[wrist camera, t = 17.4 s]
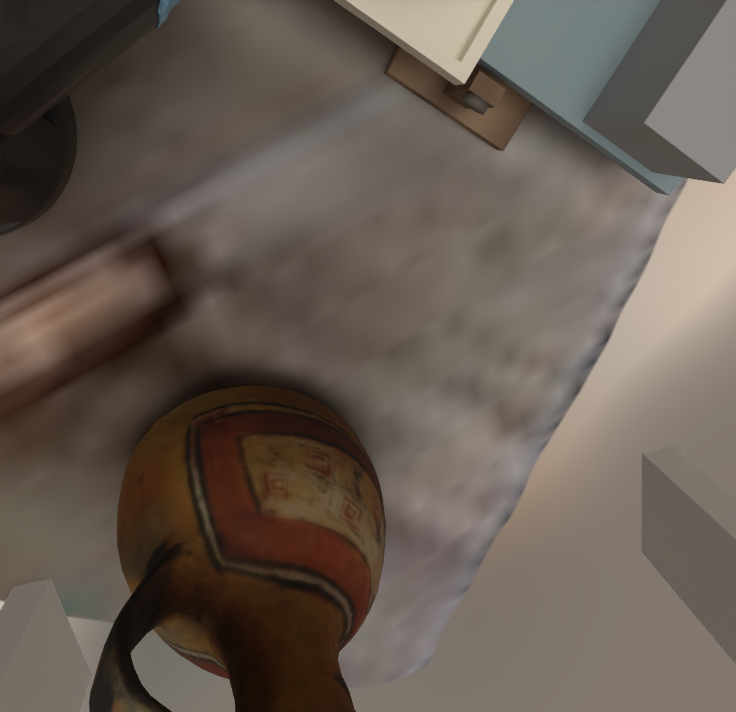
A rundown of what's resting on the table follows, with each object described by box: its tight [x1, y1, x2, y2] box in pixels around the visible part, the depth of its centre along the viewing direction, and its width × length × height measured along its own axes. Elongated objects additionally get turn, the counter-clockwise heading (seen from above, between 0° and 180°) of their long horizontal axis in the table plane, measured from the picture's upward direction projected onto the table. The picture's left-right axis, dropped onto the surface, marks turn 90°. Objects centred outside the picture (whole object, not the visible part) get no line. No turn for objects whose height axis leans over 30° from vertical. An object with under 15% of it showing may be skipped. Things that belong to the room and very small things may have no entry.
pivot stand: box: [384, 46, 533, 151], centre depth 41 cm, size 10×15×8 cm, turn 149°
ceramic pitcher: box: [89, 386, 386, 712], centre depth 41 cm, size 20×20×30 cm
